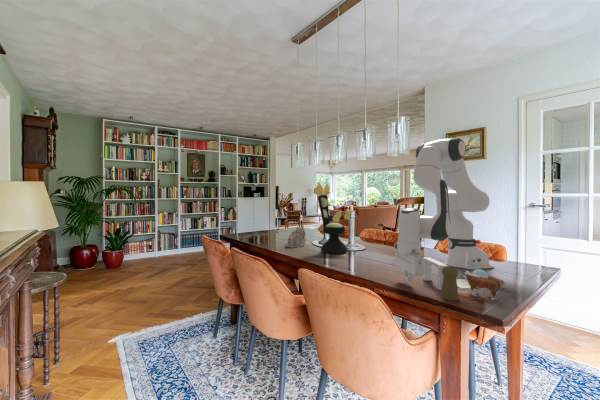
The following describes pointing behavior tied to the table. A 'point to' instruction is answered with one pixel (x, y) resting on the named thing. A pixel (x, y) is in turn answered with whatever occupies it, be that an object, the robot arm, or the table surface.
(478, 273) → the ball
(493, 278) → the stopper
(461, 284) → the blank cream square sheet
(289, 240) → the ceramic cottage
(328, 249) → the candelabra
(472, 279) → the bull figurine
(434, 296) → the table surface
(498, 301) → the table surface
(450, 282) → the olive tall rounded piece
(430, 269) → the bridge
